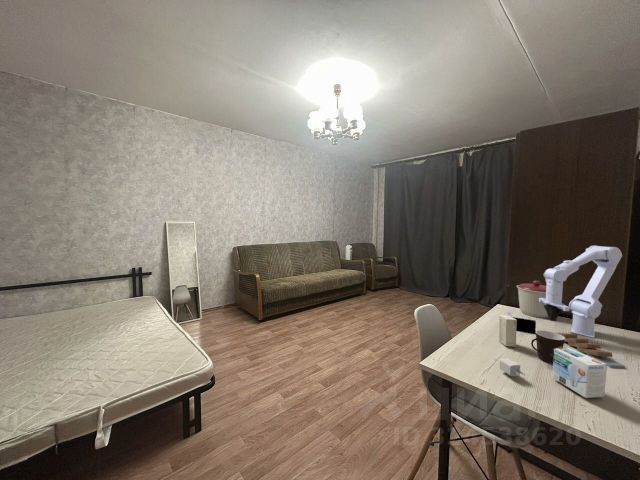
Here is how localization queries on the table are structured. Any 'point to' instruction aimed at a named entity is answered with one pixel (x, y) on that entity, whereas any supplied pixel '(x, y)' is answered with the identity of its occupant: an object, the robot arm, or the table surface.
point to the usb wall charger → (510, 367)
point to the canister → (532, 299)
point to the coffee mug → (547, 344)
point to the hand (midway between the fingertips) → (552, 320)
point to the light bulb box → (579, 372)
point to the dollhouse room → (525, 325)
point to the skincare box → (507, 330)
